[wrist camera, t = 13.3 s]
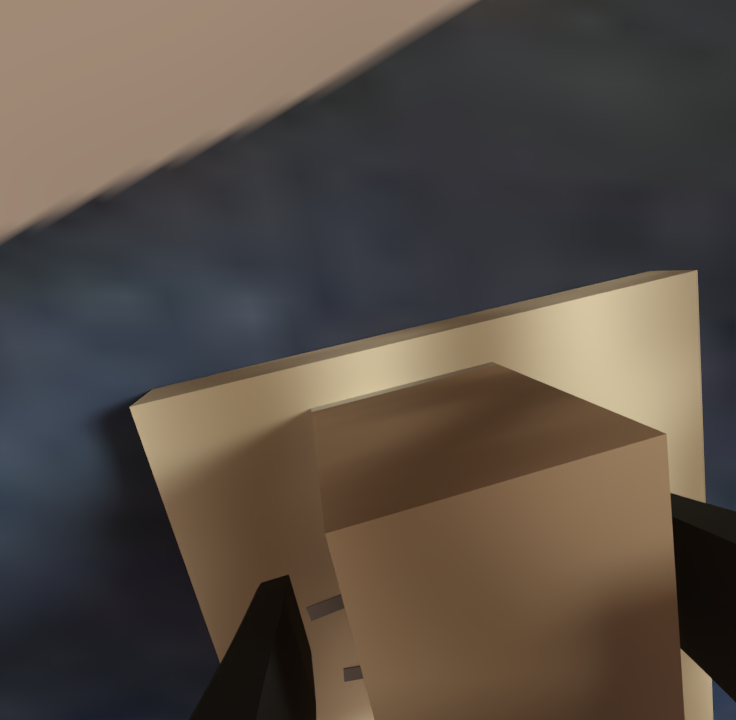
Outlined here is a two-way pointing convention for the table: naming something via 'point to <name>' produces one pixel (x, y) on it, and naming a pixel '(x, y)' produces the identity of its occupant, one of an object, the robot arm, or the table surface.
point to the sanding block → (502, 551)
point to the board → (382, 371)
